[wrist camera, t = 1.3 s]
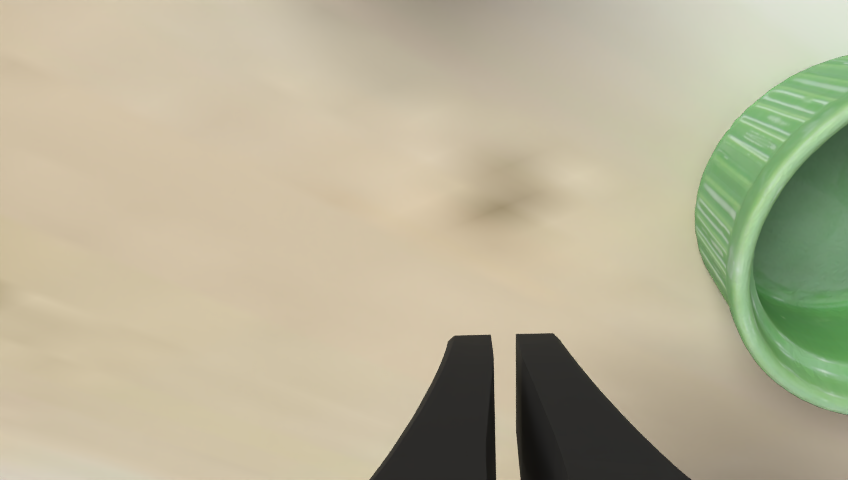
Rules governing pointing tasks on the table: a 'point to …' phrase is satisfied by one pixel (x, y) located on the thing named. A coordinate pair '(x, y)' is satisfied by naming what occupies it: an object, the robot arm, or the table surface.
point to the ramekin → (786, 231)
